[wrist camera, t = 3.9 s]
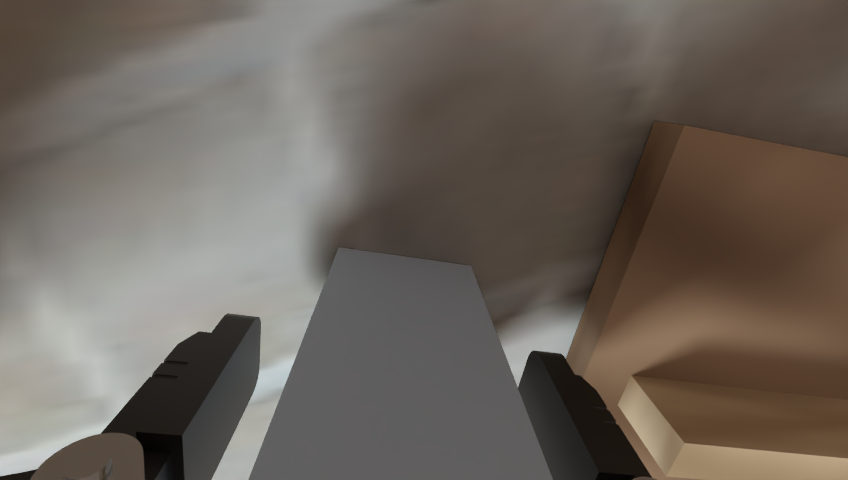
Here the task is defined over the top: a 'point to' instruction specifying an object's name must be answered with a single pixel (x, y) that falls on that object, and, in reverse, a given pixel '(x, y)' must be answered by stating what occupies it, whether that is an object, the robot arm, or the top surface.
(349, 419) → the block
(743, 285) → the board
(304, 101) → the top surface
